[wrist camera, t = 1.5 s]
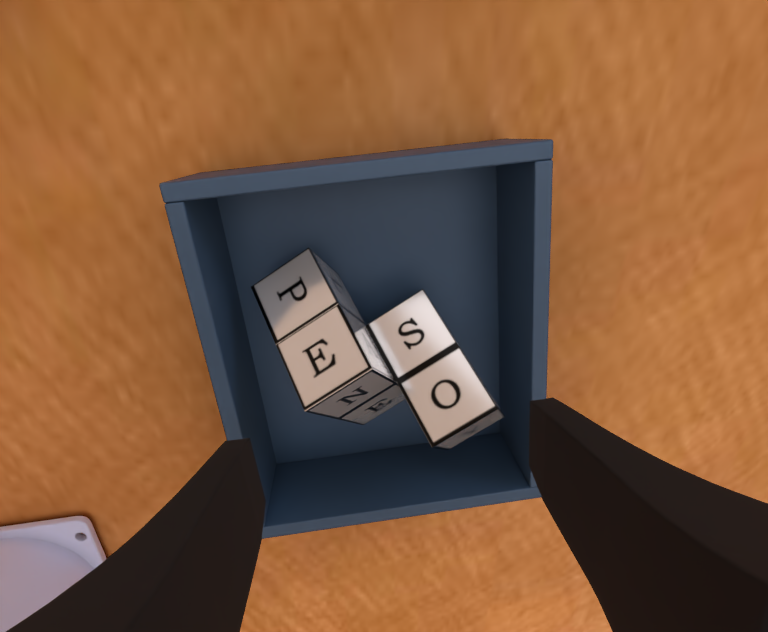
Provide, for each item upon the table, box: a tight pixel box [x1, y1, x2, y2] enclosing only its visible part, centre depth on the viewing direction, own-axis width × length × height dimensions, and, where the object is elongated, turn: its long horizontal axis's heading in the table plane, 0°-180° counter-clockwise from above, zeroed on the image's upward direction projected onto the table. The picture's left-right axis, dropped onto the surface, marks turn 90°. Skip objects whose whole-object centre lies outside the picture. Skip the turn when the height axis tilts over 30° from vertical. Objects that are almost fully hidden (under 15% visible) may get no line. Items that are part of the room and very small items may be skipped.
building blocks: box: [251, 248, 505, 450], centre depth 18 cm, size 5×5×8 cm
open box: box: [159, 139, 553, 539], centre depth 19 cm, size 14×12×4 cm
